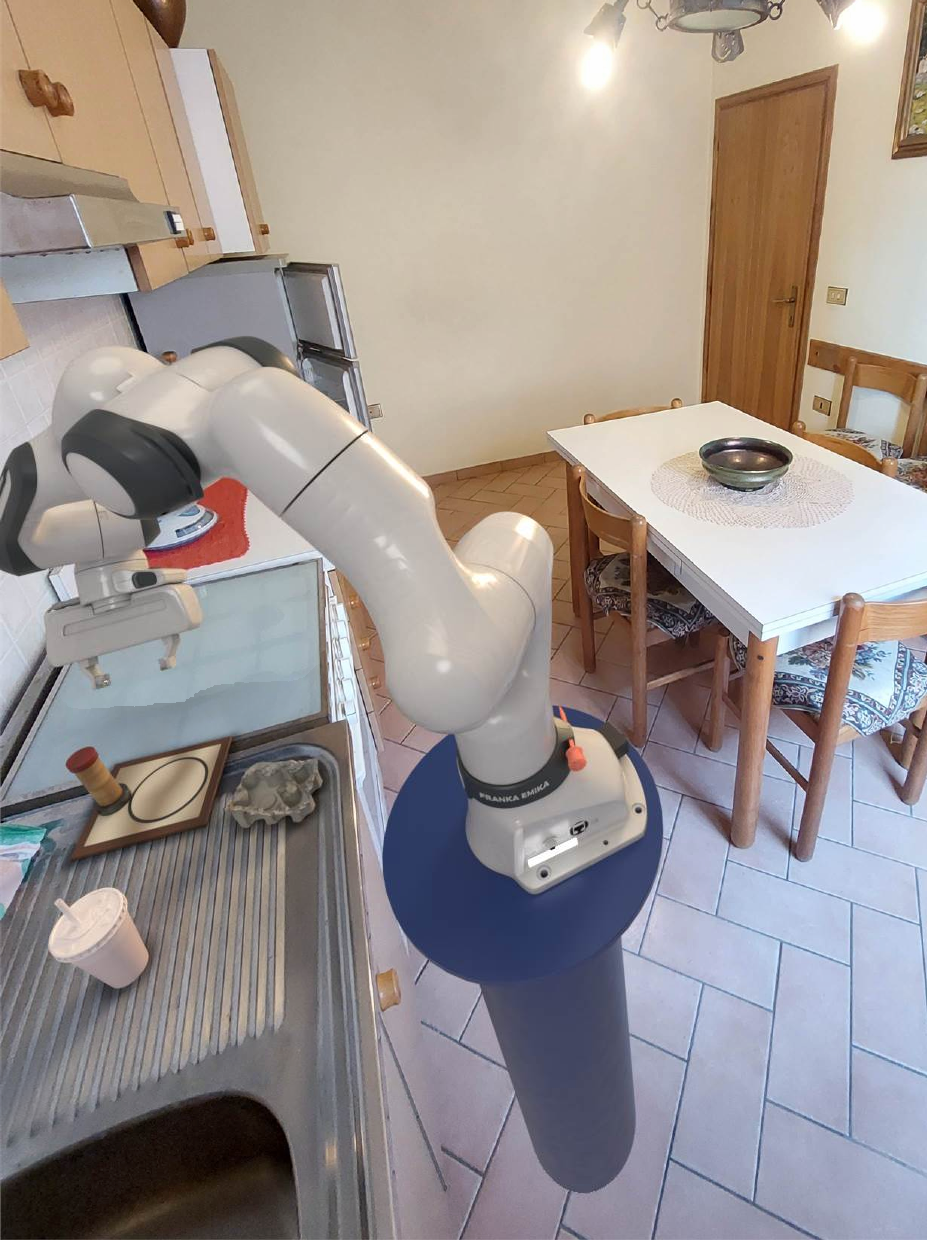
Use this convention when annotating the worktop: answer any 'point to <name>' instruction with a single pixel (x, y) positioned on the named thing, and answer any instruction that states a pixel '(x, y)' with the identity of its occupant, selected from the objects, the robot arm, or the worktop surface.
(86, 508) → the robot arm
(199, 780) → the drawing board
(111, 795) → the stamp
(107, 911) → the smoothie
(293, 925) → the worktop surface
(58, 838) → the worktop surface
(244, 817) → the egg carton
